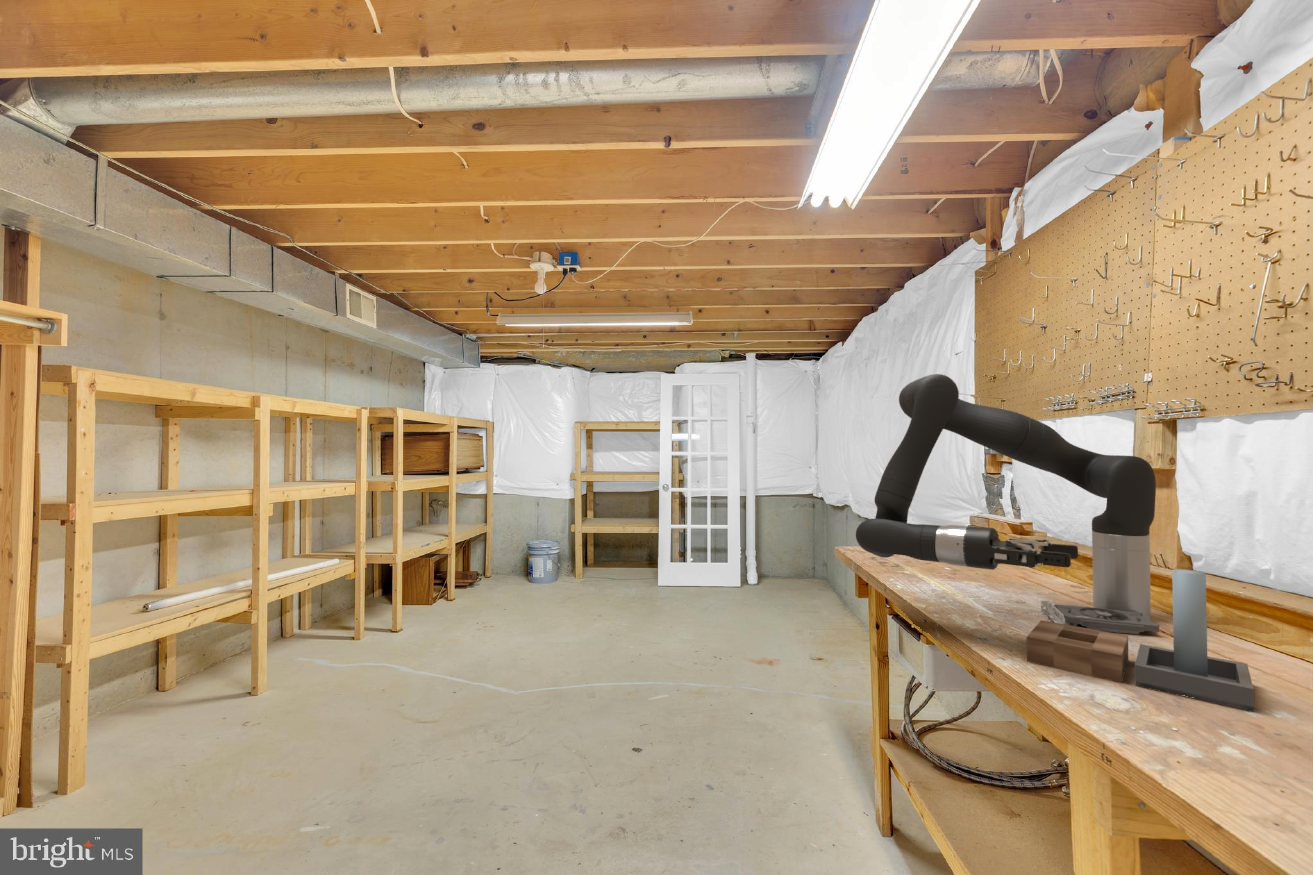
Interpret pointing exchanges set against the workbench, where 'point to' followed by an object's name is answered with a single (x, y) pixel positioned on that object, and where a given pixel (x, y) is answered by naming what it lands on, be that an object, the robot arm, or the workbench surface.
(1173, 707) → the workbench surface
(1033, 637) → the bore block
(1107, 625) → the graphics card
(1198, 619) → the dowel
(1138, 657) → the tray
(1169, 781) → the workbench surface
